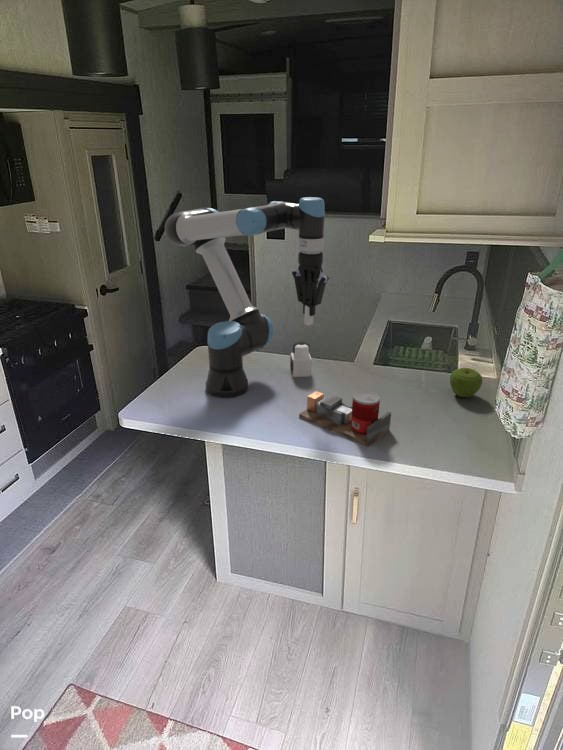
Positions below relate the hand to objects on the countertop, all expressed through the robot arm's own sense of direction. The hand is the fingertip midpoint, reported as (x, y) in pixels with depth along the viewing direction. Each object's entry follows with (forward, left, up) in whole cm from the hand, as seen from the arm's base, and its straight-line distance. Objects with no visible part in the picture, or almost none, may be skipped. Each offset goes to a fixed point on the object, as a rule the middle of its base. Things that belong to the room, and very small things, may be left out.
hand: (308, 324), depth 168 cm
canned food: (+27, -7, -25) cm, 38 cm away
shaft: (+15, -7, -25) cm, 30 cm away
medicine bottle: (-13, +13, -27) cm, 32 cm away
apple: (+41, +36, -27) cm, 61 cm away
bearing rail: (+20, -7, -26) cm, 34 cm away
